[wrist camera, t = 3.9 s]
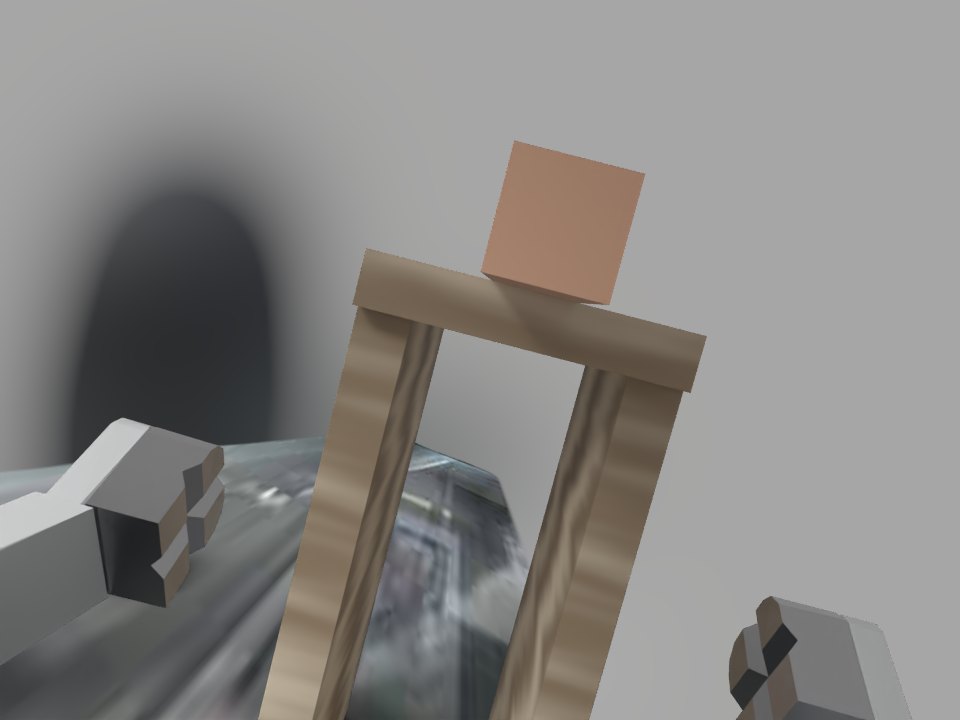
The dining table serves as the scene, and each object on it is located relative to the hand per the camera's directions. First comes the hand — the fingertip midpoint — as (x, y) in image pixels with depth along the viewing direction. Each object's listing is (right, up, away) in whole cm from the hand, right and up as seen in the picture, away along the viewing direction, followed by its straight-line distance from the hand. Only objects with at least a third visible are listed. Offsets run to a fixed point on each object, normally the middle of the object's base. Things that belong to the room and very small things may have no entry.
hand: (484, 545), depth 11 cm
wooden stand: (-4, -19, +25) cm, 32 cm away
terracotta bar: (+2, +5, +17) cm, 18 cm away
